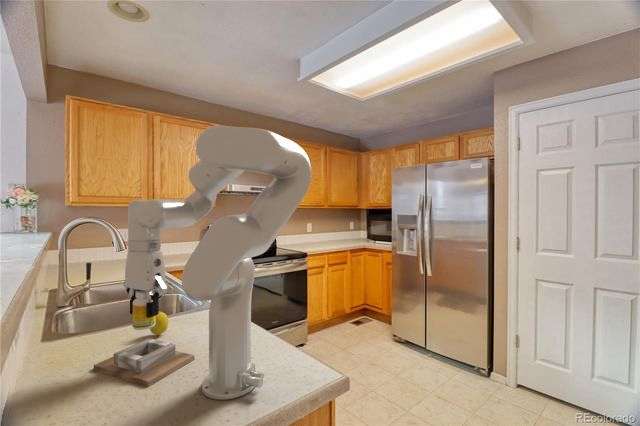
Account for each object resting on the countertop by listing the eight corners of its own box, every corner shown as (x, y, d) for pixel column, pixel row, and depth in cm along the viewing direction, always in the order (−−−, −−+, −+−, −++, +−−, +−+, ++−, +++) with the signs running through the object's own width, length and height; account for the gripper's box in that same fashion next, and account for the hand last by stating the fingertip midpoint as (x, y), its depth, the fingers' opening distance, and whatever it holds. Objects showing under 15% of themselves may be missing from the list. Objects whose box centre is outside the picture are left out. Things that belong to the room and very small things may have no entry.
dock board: (194, 359, 85) (194, 344, 85) (148, 386, 72) (148, 368, 72) (143, 347, 92) (143, 333, 92) (93, 369, 79) (93, 353, 79)
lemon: (160, 339, 97) (160, 314, 97) (145, 338, 99) (145, 313, 99) (172, 333, 103) (171, 309, 103) (157, 331, 104) (157, 308, 104)
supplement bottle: (136, 323, 84) (136, 288, 84) (158, 322, 85) (158, 287, 85) (129, 331, 79) (129, 294, 79) (152, 329, 80) (152, 293, 80)
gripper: (180, 246, 82) (179, 314, 82) (135, 243, 88) (135, 306, 89) (155, 250, 75) (154, 324, 75) (108, 246, 81) (108, 314, 82)
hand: (144, 313), depth 82 cm, fingers closed on supplement bottle, 5 cm apart
